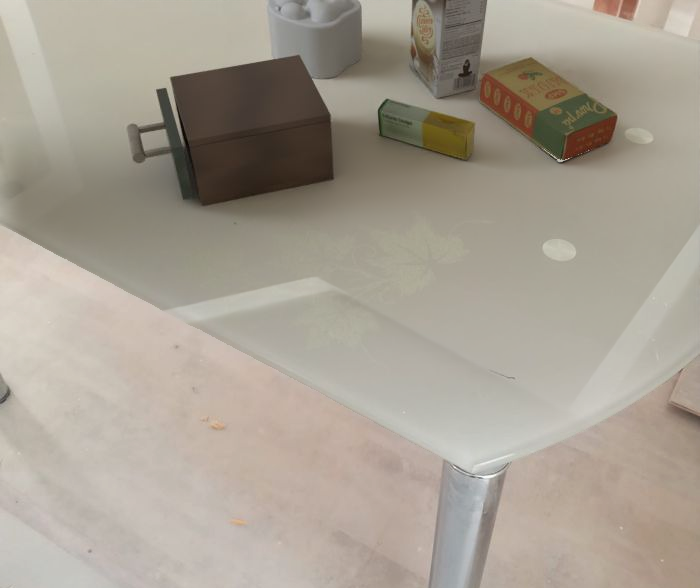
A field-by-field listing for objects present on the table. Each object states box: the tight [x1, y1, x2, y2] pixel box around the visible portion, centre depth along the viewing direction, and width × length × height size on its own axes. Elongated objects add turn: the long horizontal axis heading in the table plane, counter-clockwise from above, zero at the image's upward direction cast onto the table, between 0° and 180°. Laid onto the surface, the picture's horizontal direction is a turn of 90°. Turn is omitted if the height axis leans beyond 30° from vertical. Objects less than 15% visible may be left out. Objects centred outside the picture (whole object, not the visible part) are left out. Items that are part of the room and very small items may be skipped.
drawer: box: [126, 87, 194, 200], centre depth 89 cm, size 19×12×7 cm, turn 107°
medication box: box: [377, 98, 476, 160], centre depth 93 cm, size 12×3×4 cm, turn 60°
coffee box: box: [409, 0, 488, 99], centre depth 98 cm, size 9×6×16 cm
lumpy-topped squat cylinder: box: [266, 0, 363, 80], centre depth 106 cm, size 10×13×9 cm
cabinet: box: [169, 55, 335, 207], centre depth 90 cm, size 16×14×9 cm
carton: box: [479, 56, 618, 160], centre depth 95 cm, size 8×16×4 cm, turn 31°
